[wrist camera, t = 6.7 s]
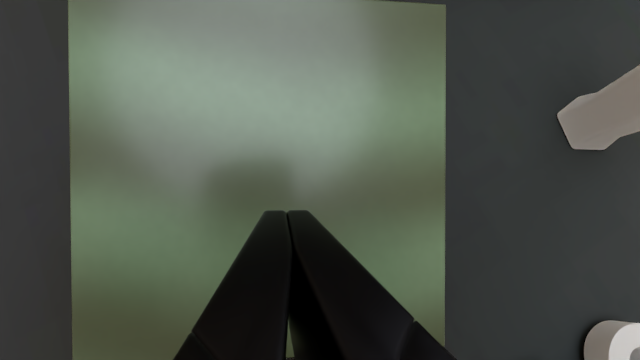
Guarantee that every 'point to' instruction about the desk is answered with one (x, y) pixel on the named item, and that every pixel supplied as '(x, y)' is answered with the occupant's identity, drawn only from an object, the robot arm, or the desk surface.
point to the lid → (247, 152)
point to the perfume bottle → (603, 114)
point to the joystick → (613, 341)
